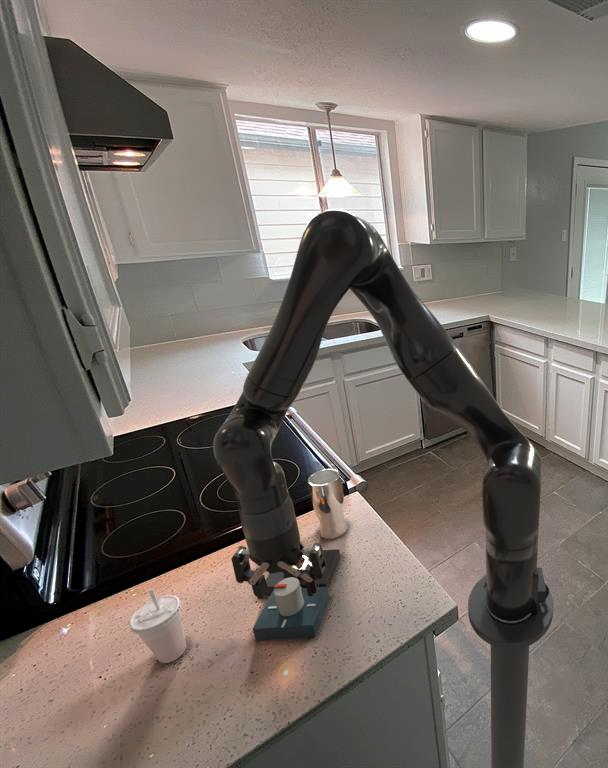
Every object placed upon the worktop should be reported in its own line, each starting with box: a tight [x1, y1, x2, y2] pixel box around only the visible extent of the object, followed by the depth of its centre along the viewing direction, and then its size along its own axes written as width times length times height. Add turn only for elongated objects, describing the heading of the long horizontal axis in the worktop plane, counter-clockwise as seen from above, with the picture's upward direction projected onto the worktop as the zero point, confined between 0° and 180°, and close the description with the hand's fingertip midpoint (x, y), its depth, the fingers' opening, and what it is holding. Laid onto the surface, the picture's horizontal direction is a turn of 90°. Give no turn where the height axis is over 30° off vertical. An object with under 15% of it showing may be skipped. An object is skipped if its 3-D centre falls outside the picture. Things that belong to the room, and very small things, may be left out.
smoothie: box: [128, 587, 187, 664], centre depth 67 cm, size 6×6×14 cm
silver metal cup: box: [307, 468, 349, 540], centre depth 94 cm, size 7×7×15 cm
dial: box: [274, 577, 304, 616], centre depth 73 cm, size 4×4×5 cm
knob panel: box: [252, 587, 331, 642], centre depth 75 cm, size 10×8×3 cm
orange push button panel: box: [265, 548, 342, 596], centre depth 84 cm, size 12×9×4 cm
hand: (288, 593), depth 73 cm, fingers open, 8 cm apart
